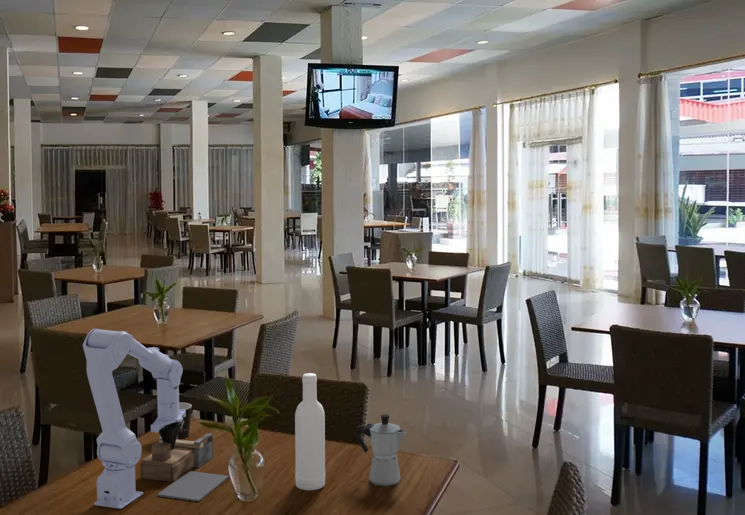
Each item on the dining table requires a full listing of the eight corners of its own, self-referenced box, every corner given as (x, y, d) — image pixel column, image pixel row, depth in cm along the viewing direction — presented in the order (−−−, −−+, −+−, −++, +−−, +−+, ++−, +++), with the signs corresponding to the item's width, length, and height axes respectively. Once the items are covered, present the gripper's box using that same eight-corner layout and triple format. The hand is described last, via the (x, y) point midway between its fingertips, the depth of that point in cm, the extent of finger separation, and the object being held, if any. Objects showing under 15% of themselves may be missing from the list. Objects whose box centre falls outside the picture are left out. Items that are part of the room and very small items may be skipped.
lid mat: (199, 501, 183) (199, 499, 183) (157, 496, 187) (157, 494, 186) (229, 477, 198) (229, 475, 198) (190, 472, 202) (190, 470, 202)
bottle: (331, 483, 195) (330, 373, 192) (313, 493, 188) (312, 380, 185) (307, 476, 199) (306, 369, 196) (289, 486, 193) (288, 375, 190)
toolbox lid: (172, 467, 195) (171, 449, 195) (141, 463, 198) (141, 445, 197) (198, 449, 208) (197, 432, 208) (169, 446, 211) (168, 429, 210)
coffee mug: (196, 433, 234) (195, 403, 233) (186, 442, 226) (186, 411, 225) (161, 432, 235) (160, 401, 234) (150, 441, 227) (149, 410, 226)
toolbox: (178, 482, 195) (177, 456, 194) (136, 477, 199) (135, 451, 198) (213, 457, 213) (212, 433, 212) (174, 452, 217) (173, 429, 216)
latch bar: (199, 448, 205) (199, 444, 205) (159, 444, 209) (159, 440, 209) (203, 446, 207) (203, 442, 207) (163, 441, 211) (163, 437, 211)
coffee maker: (411, 475, 200) (411, 412, 198) (403, 488, 191) (404, 422, 190) (359, 470, 204) (359, 407, 202) (349, 482, 195) (349, 417, 194)
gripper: (166, 410, 193) (167, 460, 194) (194, 395, 207) (195, 441, 208) (143, 408, 195) (144, 457, 196) (172, 393, 209) (174, 439, 210)
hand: (169, 449), depth 202 cm, fingers closed
